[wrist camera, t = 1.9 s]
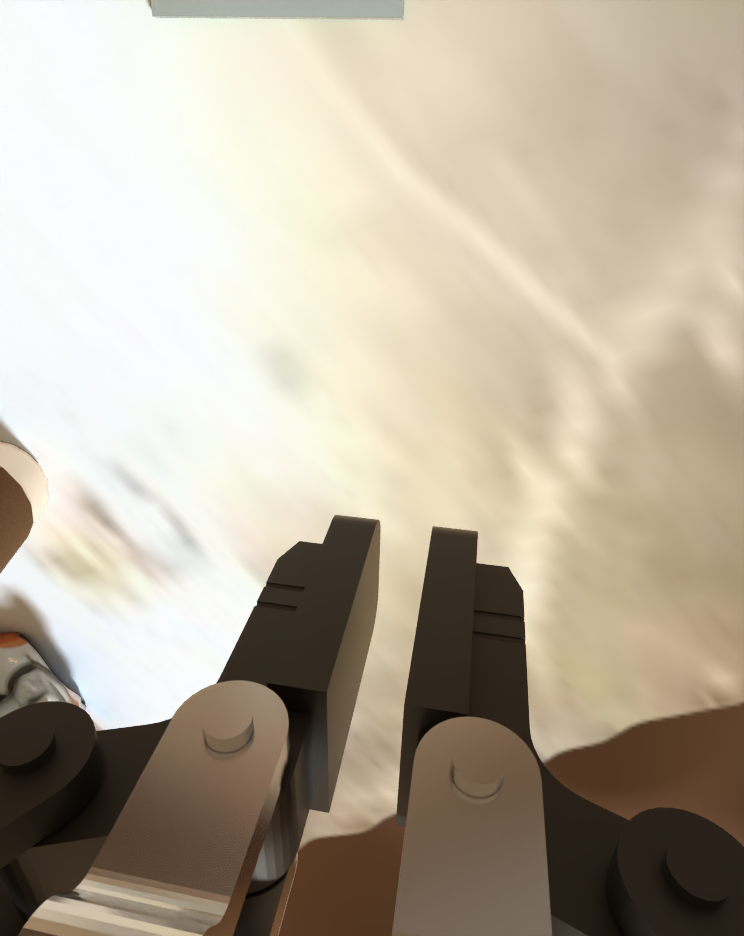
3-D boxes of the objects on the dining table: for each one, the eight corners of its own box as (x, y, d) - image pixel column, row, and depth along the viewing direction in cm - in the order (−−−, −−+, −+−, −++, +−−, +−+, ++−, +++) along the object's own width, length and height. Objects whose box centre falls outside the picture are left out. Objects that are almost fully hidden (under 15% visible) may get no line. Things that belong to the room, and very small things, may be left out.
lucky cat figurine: (-27, 602, 55) (-69, 726, 43) (114, 630, 60) (111, 746, 49) (-80, 731, 58) (-132, 879, 47) (58, 746, 64) (42, 881, 52)
